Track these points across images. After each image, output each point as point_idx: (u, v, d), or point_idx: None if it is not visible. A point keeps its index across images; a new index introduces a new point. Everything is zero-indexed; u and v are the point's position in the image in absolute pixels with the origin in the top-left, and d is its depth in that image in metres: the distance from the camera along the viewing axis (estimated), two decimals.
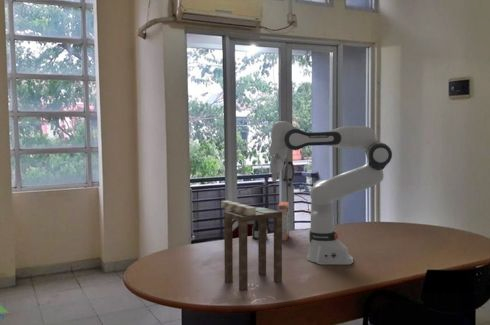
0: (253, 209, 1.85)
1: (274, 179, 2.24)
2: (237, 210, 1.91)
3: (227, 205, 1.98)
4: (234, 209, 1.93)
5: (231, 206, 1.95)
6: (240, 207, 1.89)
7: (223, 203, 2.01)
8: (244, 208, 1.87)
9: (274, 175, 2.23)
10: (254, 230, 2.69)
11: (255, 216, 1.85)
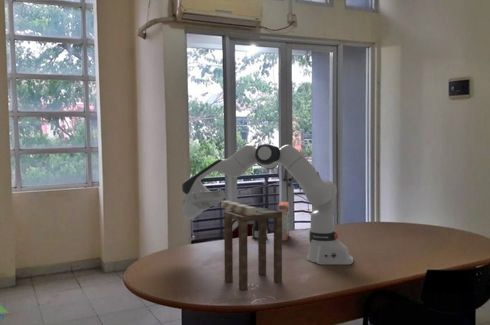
0: (253, 209, 1.85)
1: (199, 192, 2.12)
2: (237, 210, 1.91)
3: (227, 205, 1.98)
4: (234, 209, 1.93)
5: (231, 206, 1.95)
6: (240, 207, 1.89)
7: (223, 203, 2.01)
8: (244, 208, 1.87)
9: (196, 194, 2.13)
10: (254, 230, 2.69)
11: (255, 216, 1.85)
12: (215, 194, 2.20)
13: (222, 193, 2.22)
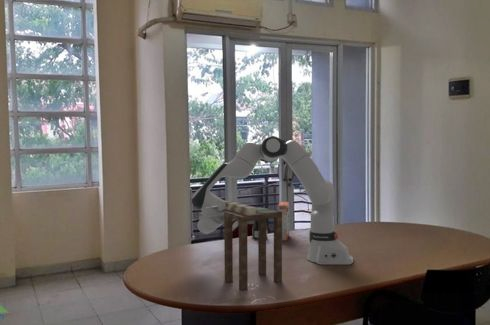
0: (253, 209, 1.85)
1: (223, 206, 1.98)
2: (237, 210, 1.91)
3: (227, 205, 1.98)
4: (234, 209, 1.93)
5: (231, 206, 1.95)
6: (240, 207, 1.89)
7: (223, 203, 2.01)
8: (244, 208, 1.87)
9: (219, 208, 1.99)
10: (254, 230, 2.69)
11: (255, 216, 1.85)
12: None
13: None
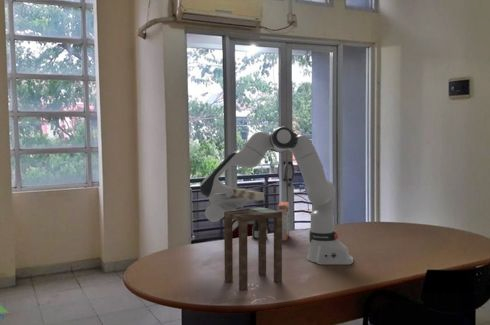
0: (261, 194, 1.86)
1: (231, 192, 1.99)
2: (245, 196, 1.92)
3: (235, 191, 1.99)
4: (242, 195, 1.94)
5: (239, 192, 1.96)
6: (248, 193, 1.90)
7: None
8: (252, 193, 1.87)
9: (227, 194, 2.00)
10: (254, 230, 2.69)
11: (255, 216, 1.85)
12: None
13: None
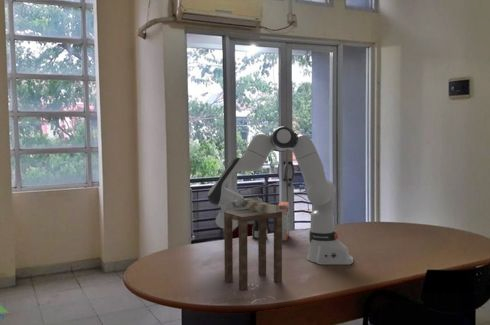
0: (274, 207, 1.89)
1: (240, 201, 2.01)
2: (257, 208, 1.95)
3: (247, 203, 2.01)
4: (254, 207, 1.96)
5: (251, 204, 1.98)
6: (261, 205, 1.92)
7: None
8: (265, 206, 1.90)
9: (236, 203, 2.02)
10: (254, 230, 2.69)
11: (255, 216, 1.85)
12: None
13: (260, 201, 2.10)
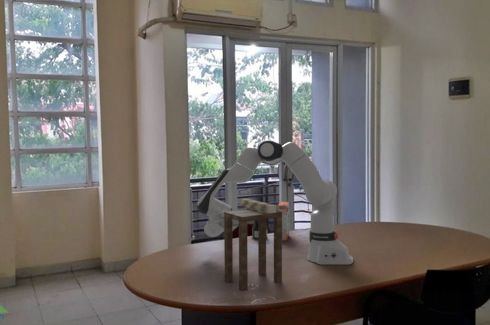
0: (274, 207, 1.89)
1: None
2: (257, 208, 1.95)
3: (247, 203, 2.01)
4: (254, 207, 1.96)
5: (251, 204, 1.98)
6: (261, 205, 1.92)
7: (242, 201, 2.04)
8: (265, 206, 1.90)
9: (221, 214, 2.12)
10: (254, 230, 2.69)
11: (255, 216, 1.85)
12: None
13: None
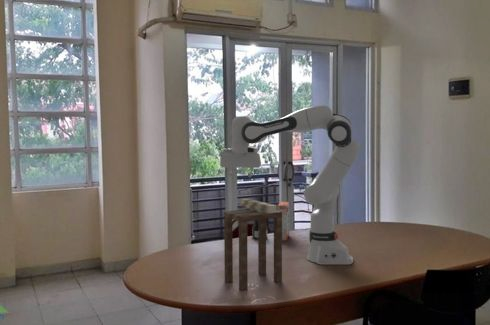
0: (274, 207, 1.89)
1: None
2: (257, 208, 1.95)
3: (247, 203, 2.01)
4: (254, 207, 1.96)
5: (251, 204, 1.98)
6: (261, 205, 1.92)
7: (242, 201, 2.04)
8: (265, 206, 1.90)
9: None
10: (254, 230, 2.69)
11: (255, 216, 1.85)
12: None
13: None
